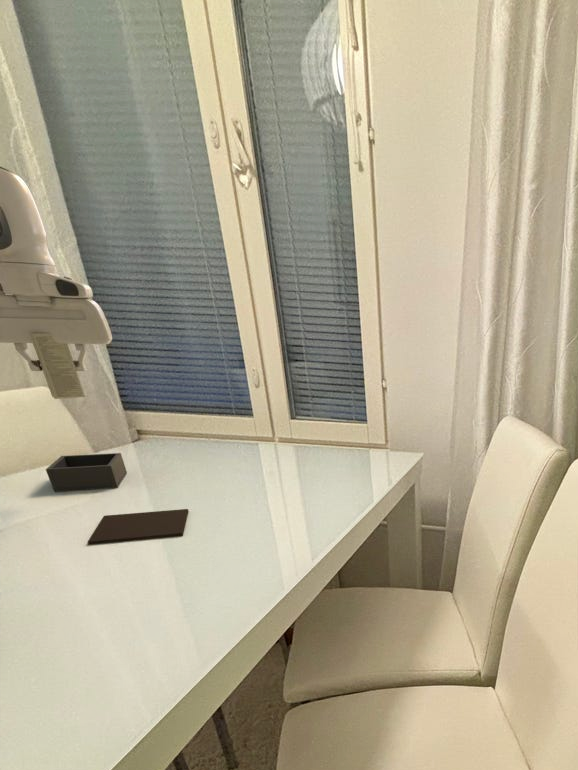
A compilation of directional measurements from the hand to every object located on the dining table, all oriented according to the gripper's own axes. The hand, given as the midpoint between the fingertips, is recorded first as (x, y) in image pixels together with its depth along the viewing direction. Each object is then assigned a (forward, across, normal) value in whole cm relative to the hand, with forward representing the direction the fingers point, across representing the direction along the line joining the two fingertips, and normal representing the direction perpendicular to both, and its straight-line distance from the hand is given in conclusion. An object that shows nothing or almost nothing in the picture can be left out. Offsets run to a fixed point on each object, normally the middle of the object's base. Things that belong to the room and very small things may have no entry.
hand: (59, 370), depth 104 cm
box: (+5, 0, 0) cm, 5 cm away
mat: (+23, +11, -28) cm, 38 cm away
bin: (+23, -2, +7) cm, 24 cm away
